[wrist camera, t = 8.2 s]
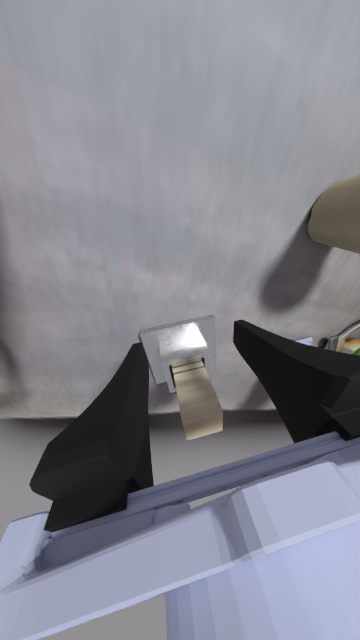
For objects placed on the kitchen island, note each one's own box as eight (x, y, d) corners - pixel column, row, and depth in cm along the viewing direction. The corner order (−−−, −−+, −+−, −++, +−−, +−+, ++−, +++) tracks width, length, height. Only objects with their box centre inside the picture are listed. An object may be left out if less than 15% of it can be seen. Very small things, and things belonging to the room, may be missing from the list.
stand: (214, 365, 29) (225, 388, 25) (156, 379, 28) (157, 405, 24) (212, 314, 24) (226, 333, 19) (139, 330, 23) (138, 353, 18)
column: (200, 370, 25) (222, 430, 17) (174, 376, 24) (186, 440, 17) (198, 350, 22) (223, 410, 15) (170, 357, 22) (181, 421, 15)
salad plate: (289, 359, 33) (308, 376, 29) (371, 293, 28) (407, 304, 24) (323, 385, 42) (342, 401, 38) (391, 338, 36) (421, 351, 33)
